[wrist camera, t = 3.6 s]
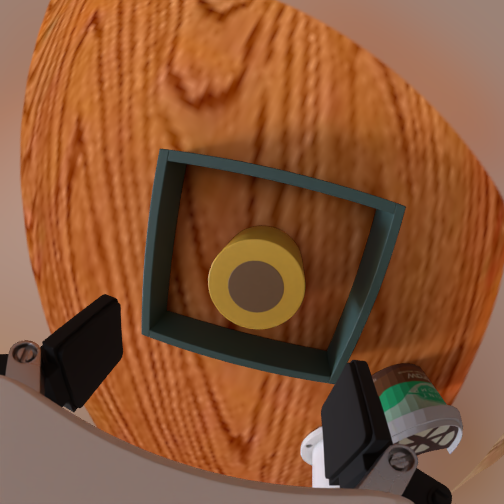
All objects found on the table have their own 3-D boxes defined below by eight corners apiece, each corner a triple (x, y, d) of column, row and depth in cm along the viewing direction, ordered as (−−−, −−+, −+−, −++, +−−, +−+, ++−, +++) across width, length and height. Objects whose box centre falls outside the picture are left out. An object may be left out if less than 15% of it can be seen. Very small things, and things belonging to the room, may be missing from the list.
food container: (451, 357, 23) (489, 413, 13) (427, 395, 25) (453, 453, 15) (364, 349, 24) (389, 425, 14) (342, 392, 26) (354, 466, 16)
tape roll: (311, 236, 22) (317, 253, 17) (290, 307, 24) (290, 338, 19) (232, 217, 22) (216, 228, 17) (218, 289, 24) (201, 316, 19)
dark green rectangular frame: (387, 201, 20) (406, 206, 16) (331, 358, 25) (336, 384, 21) (180, 152, 21) (159, 148, 17) (159, 314, 26) (141, 334, 22)
